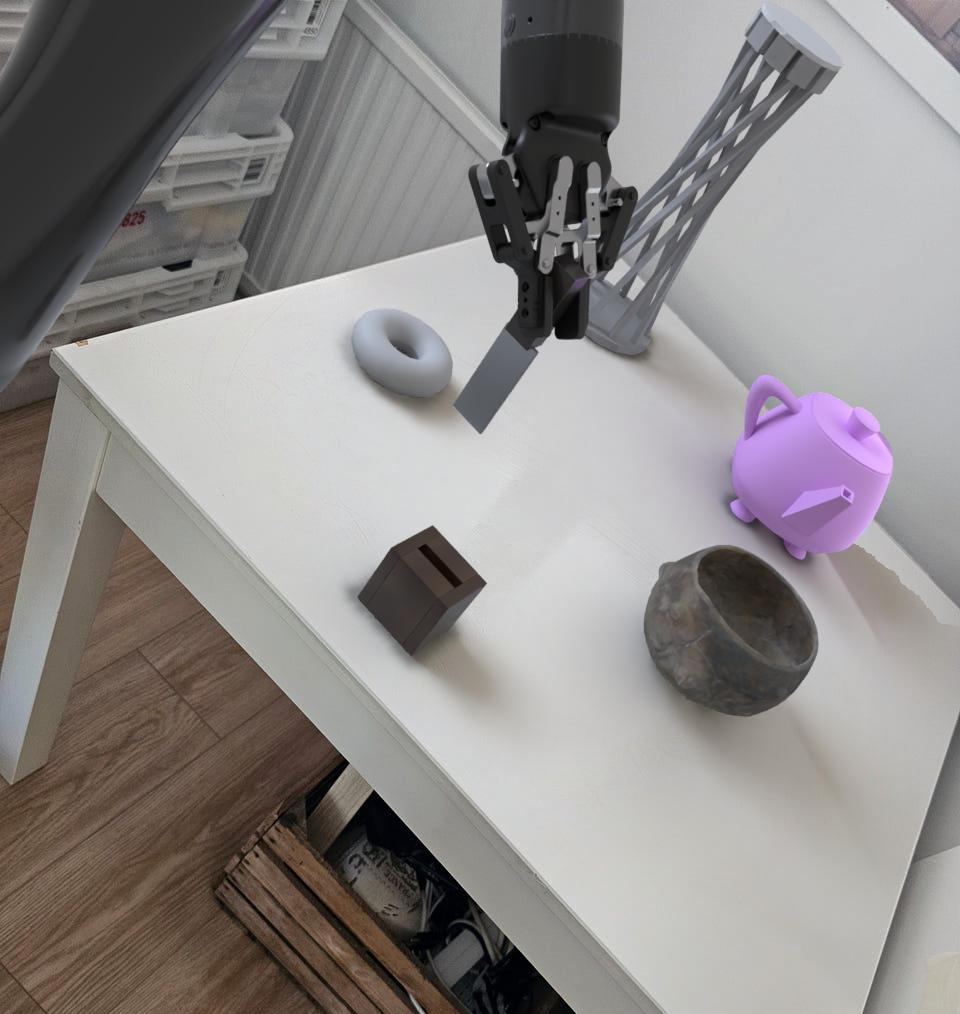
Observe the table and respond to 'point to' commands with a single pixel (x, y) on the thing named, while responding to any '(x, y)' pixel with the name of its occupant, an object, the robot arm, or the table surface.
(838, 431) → the teapot
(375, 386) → the table surface
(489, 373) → the knife
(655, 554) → the table surface
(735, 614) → the bowl
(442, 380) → the donut
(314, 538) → the table surface
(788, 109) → the gray lattice tower
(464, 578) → the knife block
